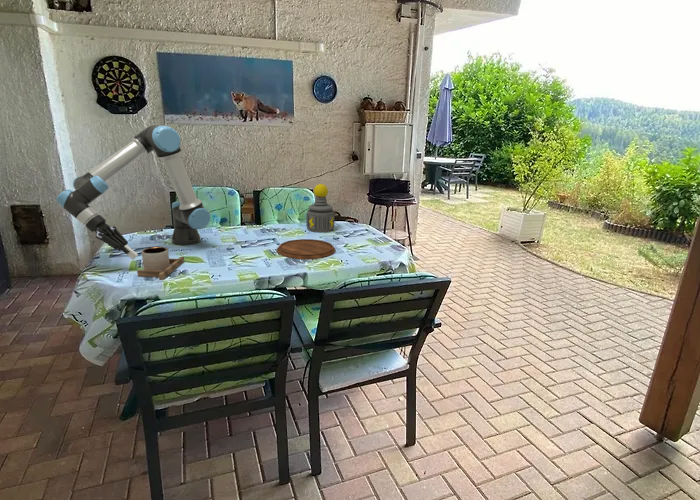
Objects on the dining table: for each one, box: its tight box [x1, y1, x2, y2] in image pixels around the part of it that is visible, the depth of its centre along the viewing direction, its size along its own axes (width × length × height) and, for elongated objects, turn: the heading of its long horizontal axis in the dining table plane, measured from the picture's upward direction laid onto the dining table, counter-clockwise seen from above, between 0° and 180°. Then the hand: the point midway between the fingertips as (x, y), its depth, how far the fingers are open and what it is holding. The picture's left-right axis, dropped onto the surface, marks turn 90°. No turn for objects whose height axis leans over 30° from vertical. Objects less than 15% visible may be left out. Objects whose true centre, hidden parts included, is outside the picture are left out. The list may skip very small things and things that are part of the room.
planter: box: [141, 246, 170, 271], centre depth 180 cm, size 11×11×10 cm
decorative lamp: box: [305, 183, 336, 233], centre depth 260 cm, size 19×19×30 cm
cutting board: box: [276, 238, 336, 260], centre depth 219 cm, size 32×32×2 cm
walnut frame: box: [136, 256, 185, 281], centre depth 181 cm, size 24×12×2 cm, turn 1°
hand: (135, 257), depth 180 cm, fingers closed
